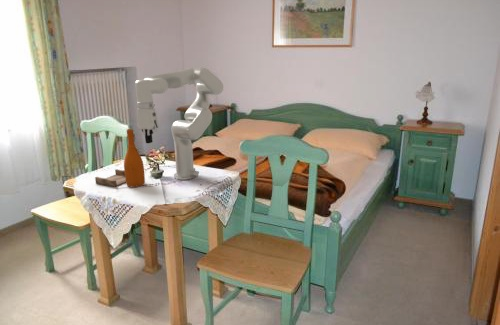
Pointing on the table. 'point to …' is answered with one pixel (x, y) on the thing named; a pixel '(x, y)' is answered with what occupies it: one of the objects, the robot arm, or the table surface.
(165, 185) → the table surface
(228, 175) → the table surface
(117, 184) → the u rest
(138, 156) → the wine bottle
